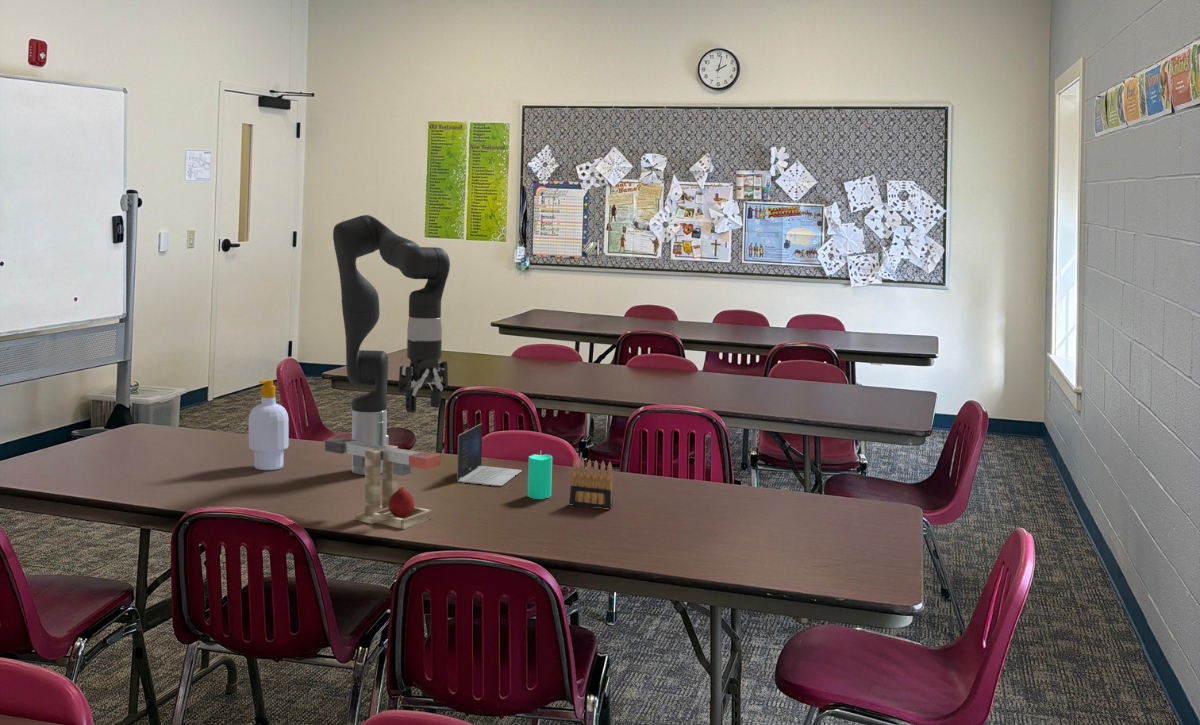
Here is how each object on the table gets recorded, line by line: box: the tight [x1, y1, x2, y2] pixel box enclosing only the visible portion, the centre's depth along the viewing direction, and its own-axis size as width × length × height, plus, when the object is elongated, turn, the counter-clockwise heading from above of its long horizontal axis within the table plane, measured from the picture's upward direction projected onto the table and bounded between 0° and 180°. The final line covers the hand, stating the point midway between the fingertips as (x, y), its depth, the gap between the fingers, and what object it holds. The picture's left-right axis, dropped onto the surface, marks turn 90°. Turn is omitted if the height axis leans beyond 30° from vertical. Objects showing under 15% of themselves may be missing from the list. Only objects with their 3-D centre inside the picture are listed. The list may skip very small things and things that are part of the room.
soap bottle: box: [248, 379, 290, 471], centre depth 273 cm, size 10×10×24 cm
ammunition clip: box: [568, 457, 614, 510], centre depth 248 cm, size 11×2×12 cm, turn 75°
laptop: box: [456, 423, 523, 487], centre depth 273 cm, size 18×12×13 cm
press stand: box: [354, 444, 433, 530], centre depth 231 cm, size 14×12×16 cm
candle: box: [527, 450, 553, 500], centre depth 255 cm, size 6×6×12 cm
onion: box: [389, 485, 415, 519], centre depth 231 cm, size 6×6×8 cm
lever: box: [324, 437, 442, 477], centre depth 232 cm, size 30×5×5 cm, turn 62°
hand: (423, 409), depth 225 cm, fingers open, 8 cm apart
